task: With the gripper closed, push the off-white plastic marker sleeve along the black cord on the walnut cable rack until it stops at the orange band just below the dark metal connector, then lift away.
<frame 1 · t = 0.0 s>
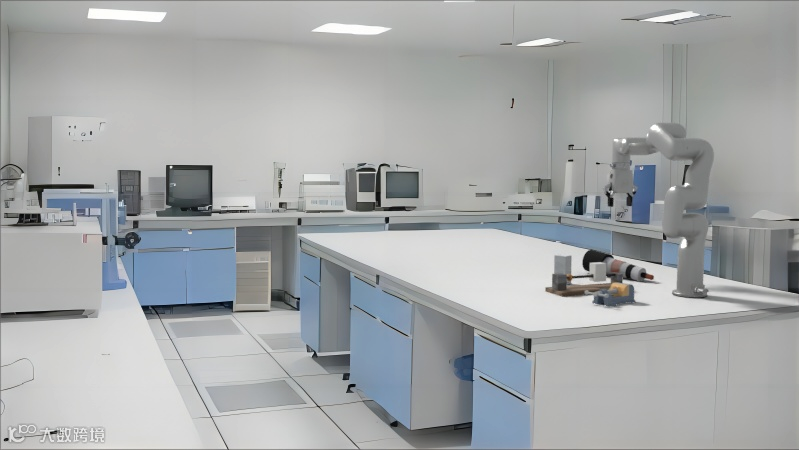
hand: (619, 206, 337), 31 cm above the worktop, tool pointing down, fingers open, 9 cm apart
cord rack: (586, 291, 305), on the worktop
vise: (611, 303, 282), on the worktop
skincare box: (562, 284, 324), on the worktop
cable: (619, 278, 339), on the worktop
sleeve: (597, 271, 306), point 8 cm above the worktop, slide at -5.0 cm
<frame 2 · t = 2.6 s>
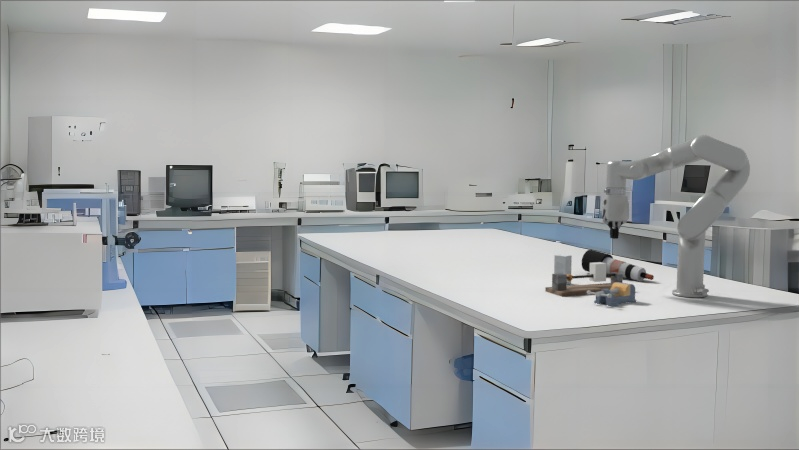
hand: (614, 238, 308), 21 cm above the worktop, tool pointing down, fingers closed
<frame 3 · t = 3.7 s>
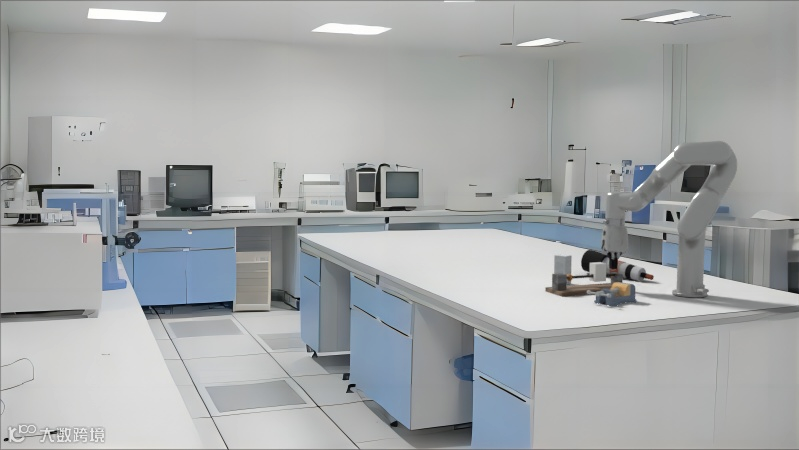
hand: (613, 268, 309), 8 cm above the worktop, tool pointing down, fingers closed
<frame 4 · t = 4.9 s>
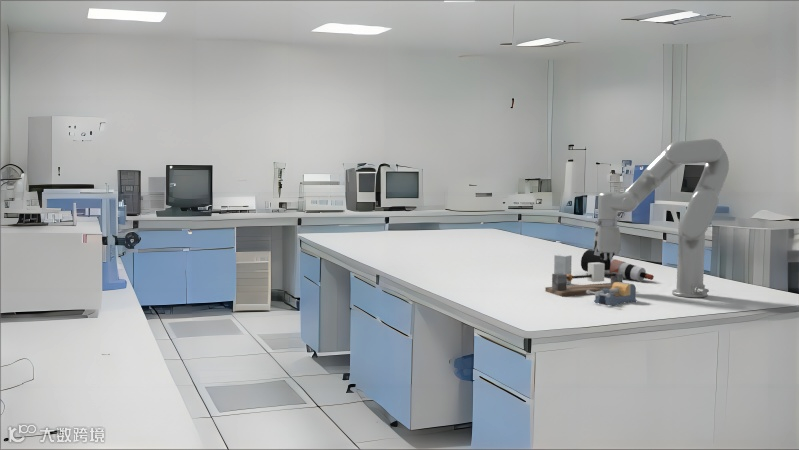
hand: (605, 269, 308), 8 cm above the worktop, tool pointing down, fingers closed
sleeve: (596, 272, 306), point 8 cm above the worktop, slide at -4.2 cm, touching gripper
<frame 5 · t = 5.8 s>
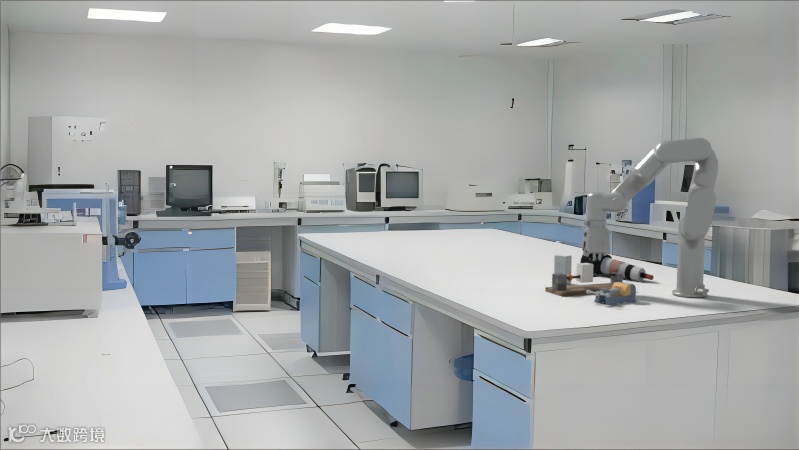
hand: (594, 270, 306), 8 cm above the worktop, tool pointing down, fingers closed
sleeve: (584, 272, 304), point 8 cm above the worktop, slide at 1.0 cm, touching gripper
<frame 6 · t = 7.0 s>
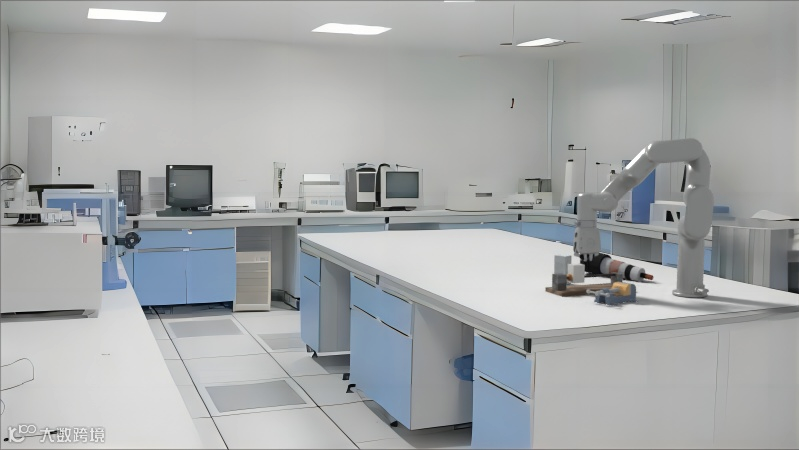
hand: (586, 270, 305), 8 cm above the worktop, tool pointing down, fingers closed
sleeve: (576, 273, 303), point 8 cm above the worktop, slide at 5.0 cm, touching cord rack, gripper
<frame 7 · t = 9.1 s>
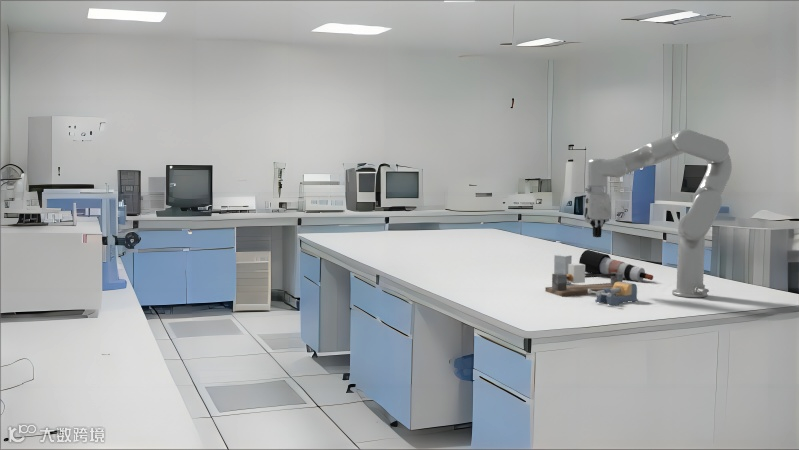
hand: (597, 236, 305), 21 cm above the worktop, tool pointing down, fingers closed
sleeve: (576, 273, 303), point 8 cm above the worktop, slide at 4.8 cm
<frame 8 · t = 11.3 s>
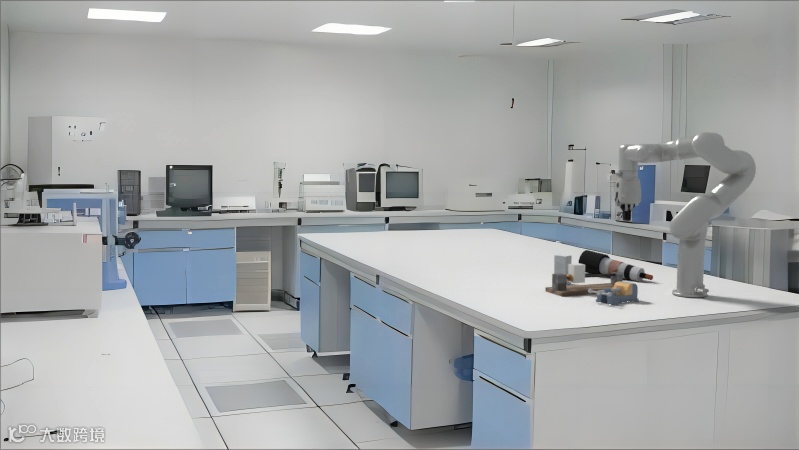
hand: (626, 220, 314), 27 cm above the worktop, tool pointing down, fingers closed
at the end: sleeve slide at 4.8 cm; the gripper is holding nothing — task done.
